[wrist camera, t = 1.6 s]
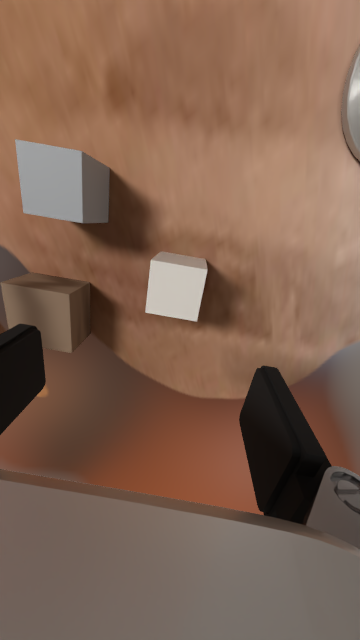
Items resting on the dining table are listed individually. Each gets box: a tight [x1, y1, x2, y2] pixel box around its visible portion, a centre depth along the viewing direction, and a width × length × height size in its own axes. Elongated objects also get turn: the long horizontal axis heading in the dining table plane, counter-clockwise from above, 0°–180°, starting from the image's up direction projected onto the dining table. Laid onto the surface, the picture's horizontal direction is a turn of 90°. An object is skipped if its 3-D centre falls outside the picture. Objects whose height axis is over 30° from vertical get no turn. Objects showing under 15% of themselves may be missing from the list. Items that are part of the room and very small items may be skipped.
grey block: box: [15, 139, 110, 223], centre depth 21 cm, size 5×5×6 cm
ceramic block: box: [146, 251, 208, 321], centre depth 23 cm, size 5×5×6 cm
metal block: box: [1, 273, 90, 353], centre depth 26 cm, size 7×7×5 cm
